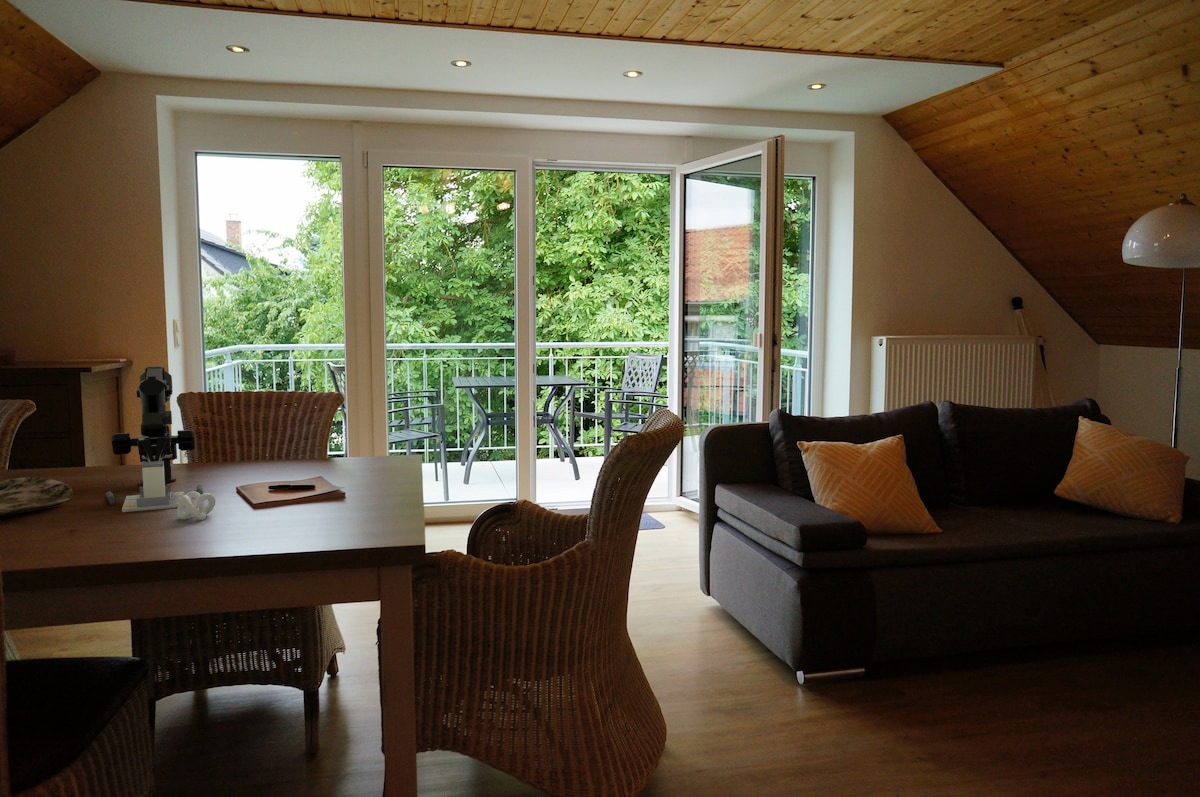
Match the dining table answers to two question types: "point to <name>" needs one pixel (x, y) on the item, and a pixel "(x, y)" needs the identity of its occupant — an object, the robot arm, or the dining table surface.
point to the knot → (195, 505)
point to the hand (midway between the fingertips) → (154, 468)
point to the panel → (152, 501)
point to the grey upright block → (153, 479)
